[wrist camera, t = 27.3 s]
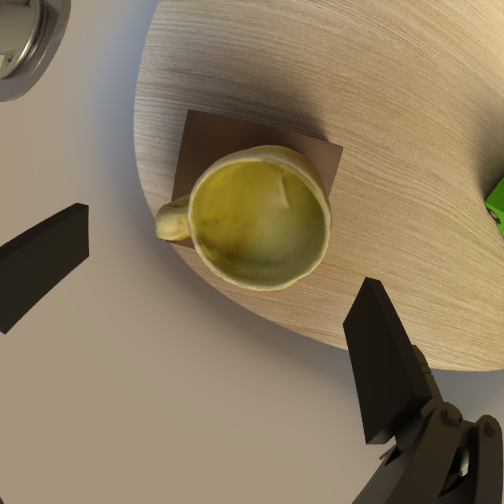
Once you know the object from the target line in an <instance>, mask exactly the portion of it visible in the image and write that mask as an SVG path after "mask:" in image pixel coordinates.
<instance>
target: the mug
mask: <svg viewBox="0 0 504 504" xmlns="http://www.w3.org/2000/svg"><path fill="white" fill-rule="evenodd" d="M155 225H156V234H157V236H158V237H160V238H163V239H166V240H171V241H172V240H178V241H179V240H182V239H184V238H186V237H191V238H192V240H193V243H194V247H195V250H196V252H197V253H198V255H199V256H200V257H201V259H202V260H203V261H204V263H205V264H206V265H207V266H208V267H209V268H210V269H211V270H212V271H213V272H214V273H215V274H216V275H217V276H219V277H221V278H222V279H223V280H225V281H227V282H229V283H231V284H234V285H237V286H240V287H243V288H245V289H251V290H256V291H264V292H266V291H273V290H279V289H284V288H286V287H289V286H290V285H291V284H293V283H294V282H296V281H297V280H299V279H301V278H302V277H304V276H306V275H308V274H310V273H311V272H312V271H313V270H314V269H315V268H316V267H317V266H318V265H319V263H320V262H321V260H322V258H323V256H324V254H325V252H326V250H327V248H328V246H329V242H330V234H331V227H332V216H331V208H330V203H329V199H328V196H327V192H326V189H325V186H324V184H323V181H322V178H321V176H320V174H319V172H318V171H317V169H316V168H315V166H314V165H313V164H312V162H311V161H310V160H309V159H308V158H306V157H305V156H304V155H302V154H300V153H298V152H296V151H294V150H292V149H289V148H286V147H283V146H277V145H263V146H257V147H253V148H250V149H246V150H242V151H238V152H235V153H232V154H229V155H227V156H225V157H223V158H221V159H219V160H217V161H216V162H215V163H214V164H212V165H211V166H210V167H209V168H208V169H207V170H206V171H205V172H204V173H203V174H202V175H201V176H200V177H199V179H198V180H197V181H196V183H195V185H194V187H193V189H192V192H191V194H190V195H186V196H184V197H181V198H179V199H177V200H175V201H173V202H170V203H168V204H165V205H163V206H162V207H161V208H160V209H159V211H158V213H157V215H156V217H155Z"/></svg>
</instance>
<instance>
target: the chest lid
mask: <svg viewBox="0 0 504 504" xmlns="http://www.w3.org/2000/svg"><path fill="white" fill-rule="evenodd" d="M263 145H277V146H283V147H286V148H289V149H292V150H294V151H296V152H298V153H300V154H302V155H304V156H305V157H306V158H308V159H309V160H310V161H311V162H312V164H313V165H314V166H315V168H316V169H317V171H318V172H319V174H320V176H321V178H322V181H323V184H324V186H325V189H326V192H327V196H328V197H329V193H330V190H331V187H332V184H333V181H334V177H335V174H336V171H337V168H338V164H339V161H340V158H341V154H342V151H343V147H342V146H339V145H336V144H332V143H329V142H326V141H323V140H320V139H316V138H313V137H310V136H306V135H303V134H299V133H296V132H292V131H288V130H285V129H281V128H277V127H273V126H269V125H265V124H261V123H256V122H252V121H247V120H243V119H238V118H233V117H228V116H223V115H218V114H212V113H207V112H201V111H195V110H188V113H187V117H186V122H185V127H184V132H183V137H182V142H181V147H180V152H179V158H178V163H177V169H176V175H175V181H174V187H173V194H172V201H171V202H173V201H175V200H177V199H179V198H181V197H184V196H186V195H190V194H191V192H192V189H193V187H194V185H195V183H196V181H197V180H198V179H199V177H200V176H201V175H202V174H203V173H204V172H205V171H206V170H207V169H208V168H209V167H210V166H211V165H212V164H214V163H215V162H216V161H217V160H219V159H221V158H223V157H225V156H227V155H229V154H232V153H235V152H238V151H242V150H246V149H250V148H253V147H257V146H263ZM166 241H167V242H170V243H174V244H178V245H181V246H185V247H189V248H192V249H195V247H194V243H193V240H192V238H191V237H186V238H184V239H182V240H179V241H178V240H172V241H171V240H166Z"/></svg>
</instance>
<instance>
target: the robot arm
mask: <svg viewBox="0 0 504 504" xmlns="http://www.w3.org/2000/svg"><path fill="white" fill-rule="evenodd" d="M42 17H43V4H42V1H41V0H0V80H3V79H6V78H8V77H10V76H11V75H12V74H13V73H14V72H15V71H16V70H17V69H18V68H19V67H20V66H21V64H22V63H23V62H24V60H25V59H26V57H27V56H28V54H29V52H30V50H31V48H32V46H33V44H34V42H35V40H36V38H37V35H38V32H39V29H40V26H41V22H42ZM88 212H89V206H88V205H84V204H80V203H75V204H73V205H71V206H69V207H68V208H66V209H64V210H62V211H60V212H58V213H56V214H54V215H53V216H51V217H49V218H47V219H45V220H44V221H42V222H40V223H39V224H37V225H35V226H33V227H32V228H30V229H28V230H27V231H25V232H23V233H22V234H20V235H18V236H17V237H15V238H14V239H12V240H10V241H9V242H7V243H5V244H4V245H3V246H1V247H0V332H2V333H3V334H6V333H7V332H8V331H9V330H10V329H11V328H12V327H13V326H14V325H15V324H16V323H17V322H18V321H19V320H20V319H21V318H22V317H23V316H24V315H25V314H26V313H27V312H28V311H29V310H30V309H31V308H32V307H33V306H34V305H35V304H36V303H37V302H38V301H39V300H40V299H41V298H42V297H43V296H45V295H46V294H47V293H48V292H49V291H50V290H51V289H52V288H53V287H54V286H55V285H57V284H58V283H59V282H60V281H61V280H62V279H63V278H64V277H66V276H67V275H68V274H69V273H70V272H71V271H72V270H74V268H76V267H77V266H78V265H79V264H81V263H82V262H83V261H84V260H85V259H86V258H88V257H89V240H88V239H89V237H88ZM343 328H344V332H345V337H346V341H347V345H348V350H349V354H350V359H351V364H352V368H353V374H354V378H355V383H356V389H357V393H358V399H359V405H360V410H361V416H362V422H363V428H364V434H365V441H366V444H385V443H386V442H388V441H389V440H390V439H391V438H392V437H393V436H394V435H395V439H396V444H395V445H394V446H393V447H392V448H390V449H389V450H388V451H387V452H386V453H384V454H383V455H382V456H381V457H380V458H379V459H380V460H382V459H383V458H384V457H385V456H386V457H385V459H384V460H383V462H382V463H381V465H380V466H379V468H378V469H377V471H376V472H375V473H374V475H373V476H372V478H371V479H370V480H369V482H368V483H367V484H366V486H365V487H364V489H363V490H362V491H361V492H360V494H359V495H358V496H357V497H356V499H355V500H354V501H353V502H352V504H502V503H501V502H502V491H503V442H502V431H501V427H500V425H499V423H498V421H497V420H496V419H495V418H493V417H492V416H490V415H483V416H481V417H480V418H479V419H478V420H477V421H476V423H472V422H469V421H465V420H463V417H462V414H461V413H460V411H459V409H457V408H456V407H455V406H454V405H453V404H450V403H448V402H444V401H443V399H442V397H441V394H440V391H439V389H438V387H437V384H436V382H435V380H434V377H433V375H431V370H430V368H429V366H428V363H427V361H426V359H425V357H424V354H423V353H422V352H421V351H420V350H419V349H418V347H417V346H416V345H412V344H411V342H410V340H409V338H408V336H407V333H406V331H405V329H404V327H403V325H402V323H401V321H400V319H399V317H398V315H397V313H396V310H395V308H394V306H393V304H392V302H391V300H390V298H389V297H388V295H387V293H386V291H385V289H384V287H383V285H382V283H381V281H380V280H376V279H372V278H368V277H366V278H365V280H364V282H363V284H362V286H361V288H360V290H359V293H358V295H357V297H356V299H355V301H354V303H353V305H352V307H351V309H350V311H349V313H348V315H347V317H346V319H345V321H344V323H343ZM466 467H468V472H467V474H466V475H464V476H462V472H463V470H464V469H465V468H466ZM0 504H4V503H3V501H2V499H1V498H0Z"/></svg>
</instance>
